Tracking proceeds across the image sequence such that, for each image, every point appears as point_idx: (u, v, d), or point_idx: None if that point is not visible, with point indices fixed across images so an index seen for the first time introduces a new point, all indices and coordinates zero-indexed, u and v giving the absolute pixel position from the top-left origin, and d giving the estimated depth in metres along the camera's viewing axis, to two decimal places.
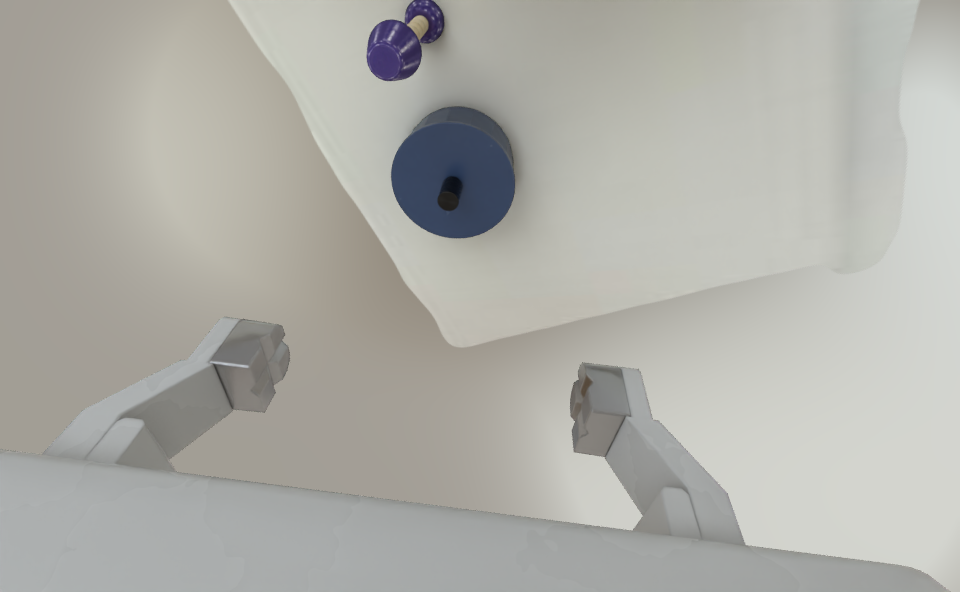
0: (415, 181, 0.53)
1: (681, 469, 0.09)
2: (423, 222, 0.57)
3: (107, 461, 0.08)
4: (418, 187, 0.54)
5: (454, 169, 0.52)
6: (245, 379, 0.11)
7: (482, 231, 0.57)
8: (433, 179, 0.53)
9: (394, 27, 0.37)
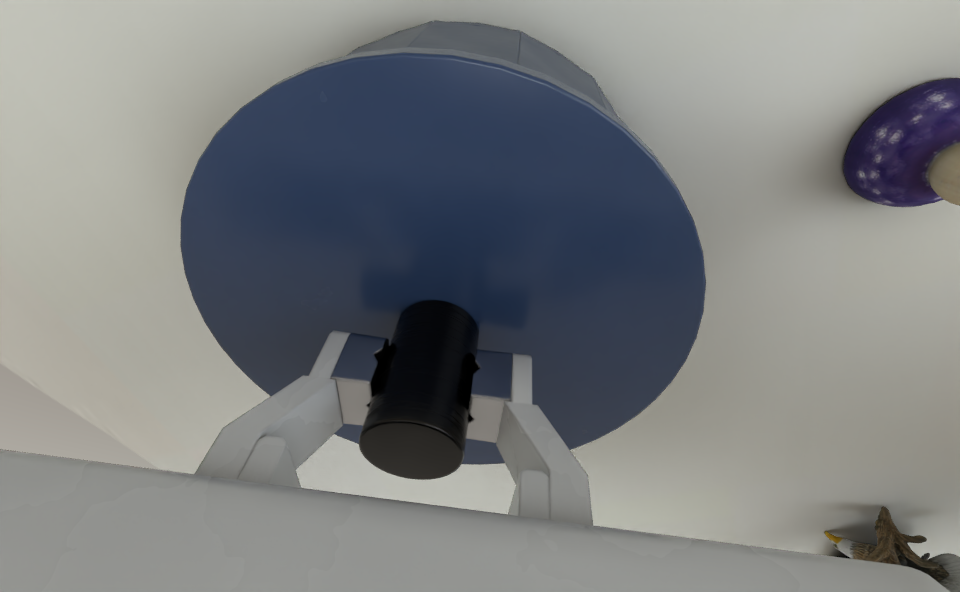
0: (441, 193, 0.10)
1: (546, 452, 0.09)
2: (223, 204, 0.11)
3: (259, 481, 0.08)
4: (410, 204, 0.11)
5: (506, 341, 0.13)
6: (363, 394, 0.11)
7: (272, 393, 0.16)
8: (458, 269, 0.12)
9: None
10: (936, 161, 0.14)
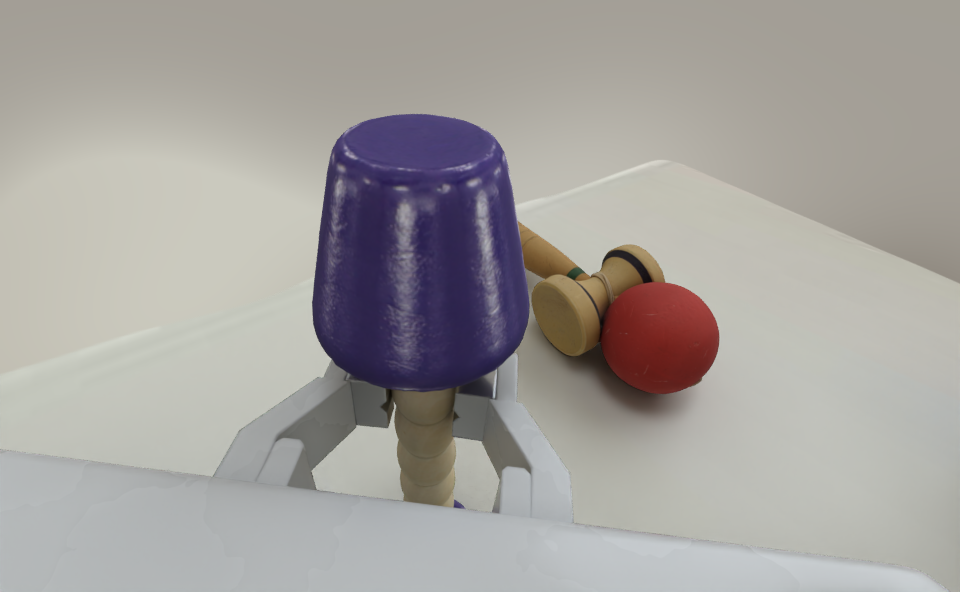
0: None
1: (529, 449, 0.09)
2: None
3: (278, 483, 0.08)
4: None
5: None
6: (377, 396, 0.11)
7: None
8: None
9: None
10: None
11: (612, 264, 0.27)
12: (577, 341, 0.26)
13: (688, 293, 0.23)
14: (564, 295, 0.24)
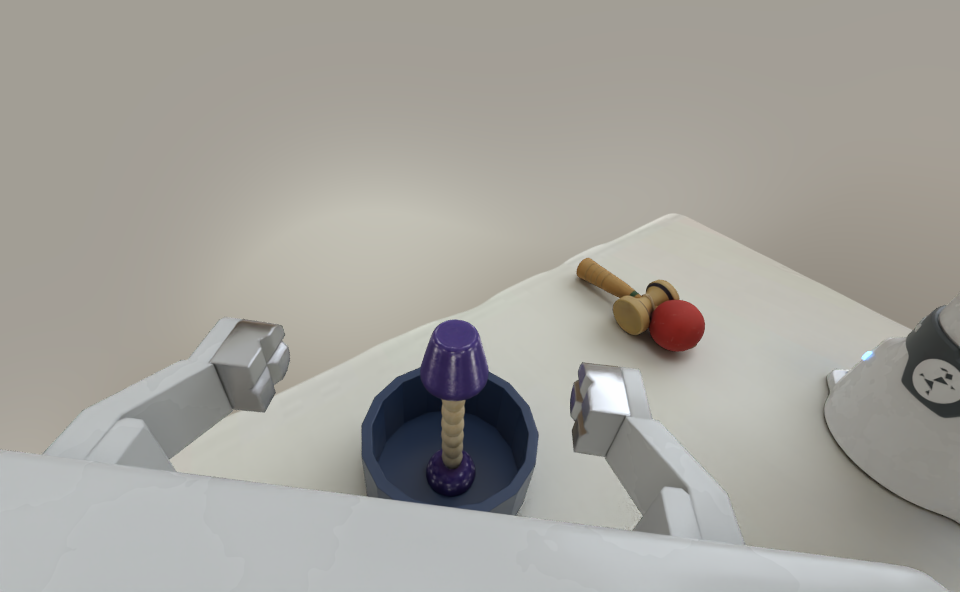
0: None
1: (681, 469, 0.09)
2: None
3: (107, 461, 0.08)
4: None
5: None
6: (245, 379, 0.11)
7: None
8: None
9: (485, 359, 0.30)
10: (443, 459, 0.38)
11: (653, 289, 0.56)
12: (637, 327, 0.54)
13: (690, 305, 0.51)
14: (633, 306, 0.52)
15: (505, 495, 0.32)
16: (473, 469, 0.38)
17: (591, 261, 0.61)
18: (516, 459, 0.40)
